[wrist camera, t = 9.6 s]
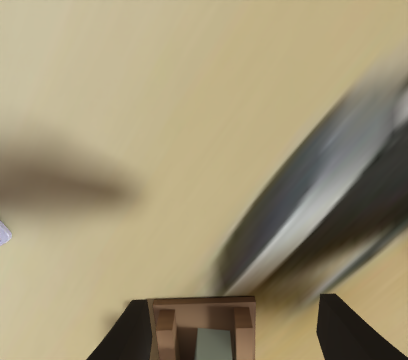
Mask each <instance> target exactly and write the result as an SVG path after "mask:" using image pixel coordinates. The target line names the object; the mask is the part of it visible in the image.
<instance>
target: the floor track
mask: <svg viewBox="0 0 408 360" xmlns="http://www.w3.org/2000/svg"><path fill="white" fill-rule="evenodd" d="M153 309H154V317H155V324H156V336H157V343H158V350H159V358H160V360H194V356H195V347H196V339H197V331H198V328H205V329H216V330H228V331H230V338H231V349H232V360H255V318H256V301H255V297H223V298H191V299H159V300H154V303H153Z"/></svg>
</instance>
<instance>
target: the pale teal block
mask: <svg viewBox="0 0 408 360" xmlns="http://www.w3.org/2000/svg"><path fill="white" fill-rule="evenodd" d="M194 360H232V349H231V338H230V331H228V330H216V329H205V328H198V331H197V339H196V347H195V356H194Z"/></svg>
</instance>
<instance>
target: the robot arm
mask: <svg viewBox="0 0 408 360" xmlns="http://www.w3.org/2000/svg"><path fill="white" fill-rule="evenodd" d="M11 238H12V233H11V232H10V231H9V229H8V228H7V227H6V226H5V225H4V224H3V223H2V222H1V221H0V246H1V245H2V244H4V243H6V242H7V241H9V240H10V239H11ZM316 333H317V336H318V339H319V343H320V346H321V349H322V352H323V355H324V358H325V360H408V357H406V356H405V355H404V354H403V353H401V352H400V351H399V350H398V349H396V348H395V347H394V346H393V345H391V344H390V343H389V342H388V341H387V340H385V339H384V338H383V337H382V336H381V335H380V334H378V333H377V332H376V331H375V330H374V329H373V328H372V327H371V326H369V325H368V324H367V323H366V322H365V321H364V320H363V319H362V318H361V317H360V316H359V315H358V314H356V313H355V312H354V311H353V310H352V309H351V308H350V307H349V306H348V305H347V304H346V303H345V302H344V301H343V300H342V299H341V298H339V297H338V296H337V295H336V294H320V302H319V312H318V321H317V331H316ZM151 344H152V331H151V323H150V316H149V309H148V302H147V300H132V301H131V302H130V304H129V305H128V307H127V308H126V309H125V311H124V312H123V314H122V315H121V316H120V318H119V319H118V321H117V322H116V323H115V325H114V326H113V327H112V329H111V330H110V331H109V333H108V334H107V335H106V336H105V338H104V339H103V340H102V342H101V343H100V344H99V345H98V346H97V348H96V349H95V350H94V351H93V352H92V353H91V355H90V356H89V357H88V358H87V359H86V360H149V358H150V351H151Z"/></svg>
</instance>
